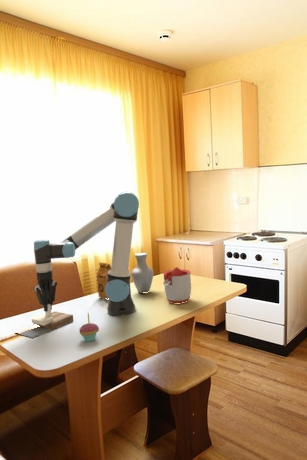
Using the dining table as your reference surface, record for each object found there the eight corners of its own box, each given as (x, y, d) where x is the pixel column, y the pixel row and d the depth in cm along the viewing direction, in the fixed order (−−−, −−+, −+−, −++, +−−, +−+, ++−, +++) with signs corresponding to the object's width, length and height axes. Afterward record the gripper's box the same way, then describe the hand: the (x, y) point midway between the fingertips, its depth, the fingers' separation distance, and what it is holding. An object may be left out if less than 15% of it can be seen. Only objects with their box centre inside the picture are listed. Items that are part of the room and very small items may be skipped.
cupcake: (81, 336, 164) (79, 311, 163) (100, 334, 165) (98, 309, 164) (79, 344, 156) (76, 317, 155) (99, 342, 156) (96, 315, 155)
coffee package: (106, 301, 215) (102, 265, 213) (96, 297, 225) (93, 263, 223) (120, 298, 221) (117, 262, 219) (110, 294, 231) (107, 260, 229)
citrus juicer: (157, 303, 206) (154, 268, 204) (178, 295, 217) (176, 263, 215) (176, 308, 194) (174, 272, 192) (198, 300, 205) (196, 266, 203)
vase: (129, 292, 233) (126, 254, 231) (149, 288, 239) (146, 251, 237) (137, 297, 220) (134, 257, 218) (158, 293, 226) (156, 253, 224)
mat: (51, 330, 175) (51, 329, 175) (32, 338, 166) (32, 337, 166) (33, 325, 183) (33, 324, 183) (14, 333, 174) (14, 332, 174)
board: (73, 320, 187) (72, 314, 186) (51, 330, 175) (51, 324, 175) (55, 316, 195) (55, 311, 194) (33, 325, 183) (33, 319, 183)
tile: (53, 321, 178) (53, 317, 178) (43, 325, 174) (43, 321, 173) (42, 318, 184) (41, 315, 183) (32, 322, 179) (31, 318, 179)
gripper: (49, 267, 187) (54, 311, 189) (28, 273, 176) (33, 320, 178) (59, 268, 182) (63, 314, 185) (37, 274, 172) (42, 322, 174)
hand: (48, 316), depth 182 cm, fingers closed
